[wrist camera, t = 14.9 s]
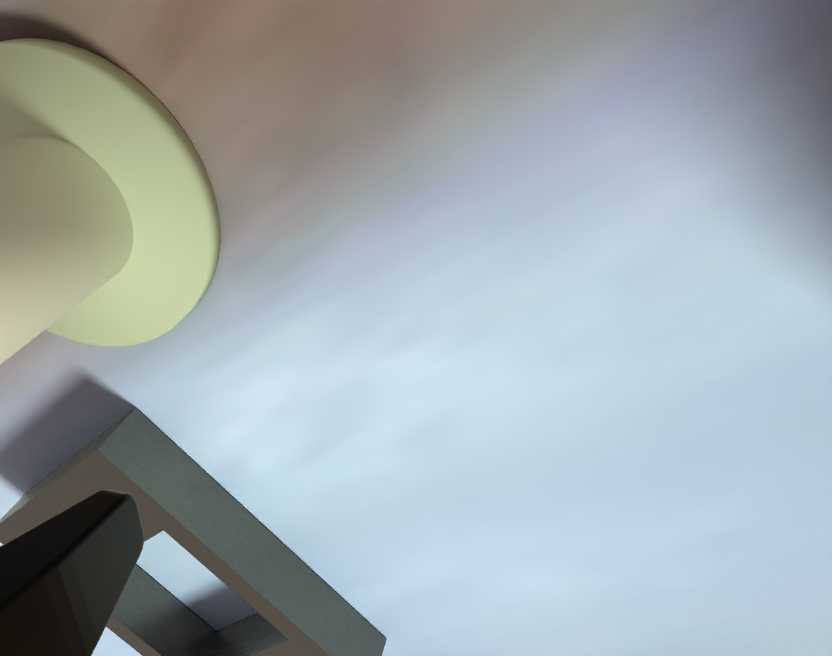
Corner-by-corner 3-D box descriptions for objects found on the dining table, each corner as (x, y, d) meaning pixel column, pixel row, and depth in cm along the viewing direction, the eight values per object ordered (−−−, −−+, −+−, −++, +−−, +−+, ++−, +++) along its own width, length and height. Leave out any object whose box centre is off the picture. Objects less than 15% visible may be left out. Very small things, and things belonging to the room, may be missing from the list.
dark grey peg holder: (386, 639, 31) (370, 691, 29) (260, 684, 36) (239, 733, 34) (135, 407, 27) (97, 449, 25) (28, 490, 32) (-12, 532, 30)
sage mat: (281, 234, 22) (268, 247, 21) (113, 374, 27) (97, 390, 26) (29, -42, 19) (2, -39, 18) (-107, 170, 24) (-133, 180, 23)
